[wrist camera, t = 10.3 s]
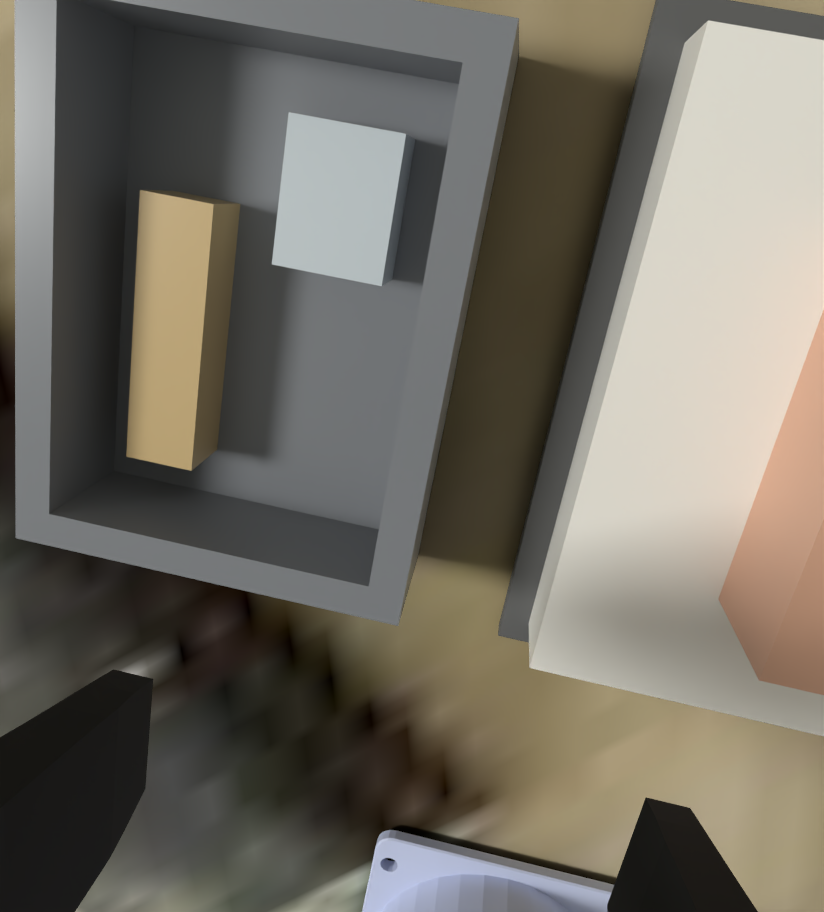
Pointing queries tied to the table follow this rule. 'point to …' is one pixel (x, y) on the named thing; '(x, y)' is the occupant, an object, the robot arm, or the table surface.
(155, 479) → the storage box
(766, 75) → the lid
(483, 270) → the table surface
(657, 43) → the mat
